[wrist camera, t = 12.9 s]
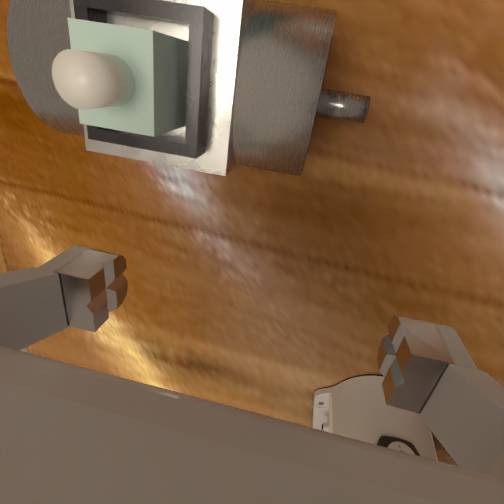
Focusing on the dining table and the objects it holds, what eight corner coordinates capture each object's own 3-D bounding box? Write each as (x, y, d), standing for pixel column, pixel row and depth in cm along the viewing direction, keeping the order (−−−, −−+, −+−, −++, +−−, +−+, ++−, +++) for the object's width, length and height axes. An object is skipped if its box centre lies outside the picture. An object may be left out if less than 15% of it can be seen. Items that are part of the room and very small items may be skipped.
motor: (339, 164, 35) (355, 217, 21) (115, 124, 37) (0, 148, 23) (375, 32, 29) (429, -11, 15) (106, -6, 31) (-54, -74, 18)
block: (185, 126, 22) (126, 146, 15) (124, 115, 23) (41, 130, 16) (188, 41, 20) (120, 19, 13) (120, 31, 20) (18, 4, 13)
